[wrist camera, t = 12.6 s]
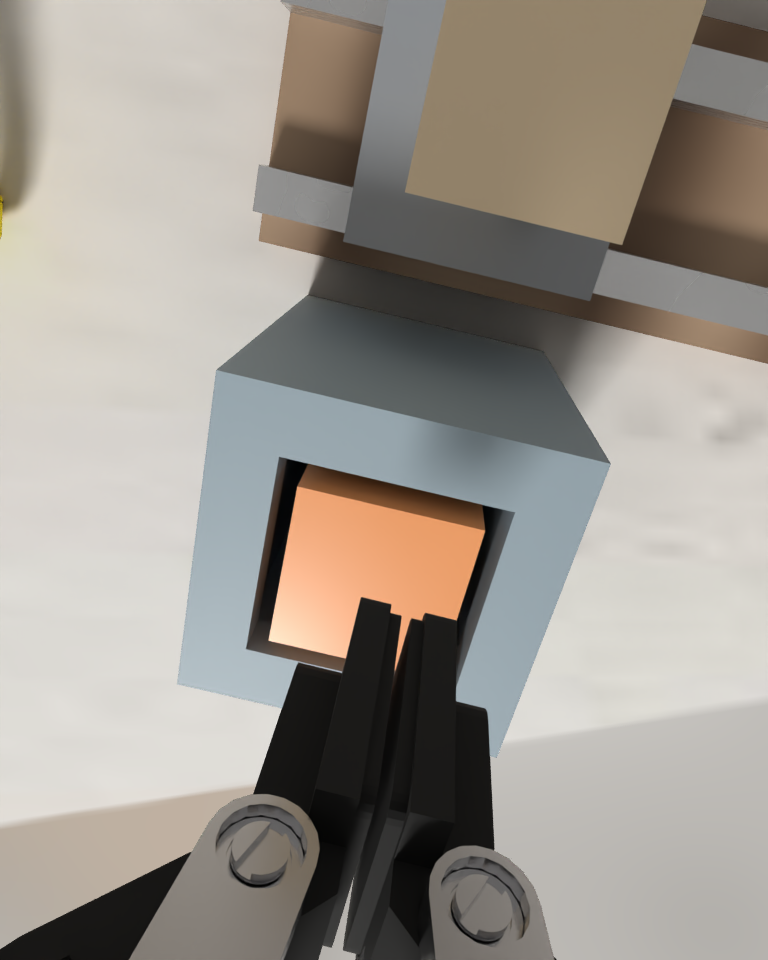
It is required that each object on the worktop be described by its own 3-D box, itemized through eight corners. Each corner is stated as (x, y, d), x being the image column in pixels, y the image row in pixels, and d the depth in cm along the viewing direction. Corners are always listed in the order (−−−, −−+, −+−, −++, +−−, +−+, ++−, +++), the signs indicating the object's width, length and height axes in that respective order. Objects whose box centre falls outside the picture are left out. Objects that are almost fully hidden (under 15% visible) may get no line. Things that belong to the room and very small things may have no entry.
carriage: (649, 35, 17) (904, -150, 7) (568, 284, 19) (685, 377, 10) (407, -25, 16) (364, -288, 7) (357, 233, 19) (277, 279, 10)
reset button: (478, 474, 17) (485, 530, 14) (438, 606, 19) (437, 679, 16) (320, 437, 17) (297, 486, 14) (294, 572, 19) (268, 640, 16)
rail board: (1117, 135, 19) (1217, 128, 17) (958, 403, 22) (1023, 430, 20) (314, -65, 19) (294, -102, 16) (270, 237, 22) (248, 244, 20)
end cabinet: (554, 354, 23) (630, 468, 14) (487, 557, 26) (512, 761, 17) (307, 294, 23) (216, 369, 13) (271, 507, 26) (177, 684, 17)
